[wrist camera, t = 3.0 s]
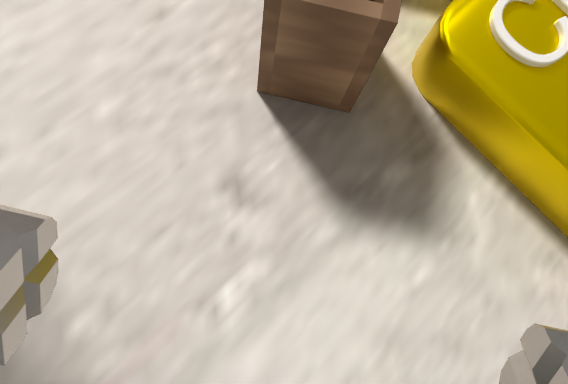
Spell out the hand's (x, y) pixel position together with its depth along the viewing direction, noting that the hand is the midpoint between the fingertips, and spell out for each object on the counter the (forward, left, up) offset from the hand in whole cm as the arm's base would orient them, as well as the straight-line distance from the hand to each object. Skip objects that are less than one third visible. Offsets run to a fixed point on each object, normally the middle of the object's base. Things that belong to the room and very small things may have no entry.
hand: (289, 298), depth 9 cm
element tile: (+14, +15, -15) cm, 26 cm away
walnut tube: (0, +12, -14) cm, 19 cm away
